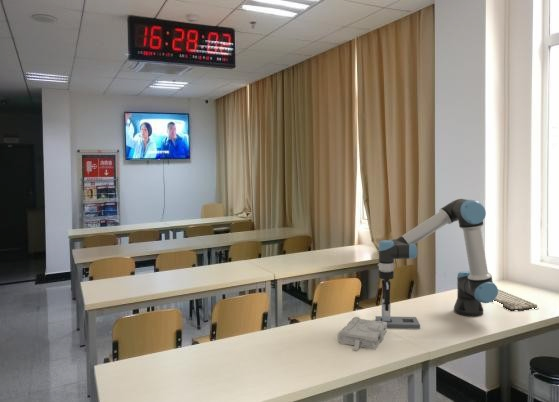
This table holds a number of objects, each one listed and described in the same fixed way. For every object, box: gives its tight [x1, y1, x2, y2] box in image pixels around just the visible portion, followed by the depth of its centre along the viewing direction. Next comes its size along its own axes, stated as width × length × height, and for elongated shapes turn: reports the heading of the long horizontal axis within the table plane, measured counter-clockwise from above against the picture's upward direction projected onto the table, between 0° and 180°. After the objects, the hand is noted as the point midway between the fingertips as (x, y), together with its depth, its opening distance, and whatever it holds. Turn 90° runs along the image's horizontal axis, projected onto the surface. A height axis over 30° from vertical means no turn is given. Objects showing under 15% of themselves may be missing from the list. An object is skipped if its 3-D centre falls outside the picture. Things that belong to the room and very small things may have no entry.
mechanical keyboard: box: [494, 288, 538, 312], centre depth 270 cm, size 38×19×3 cm, turn 10°
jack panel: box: [375, 315, 421, 330], centre depth 233 cm, size 21×12×2 cm, turn 83°
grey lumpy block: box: [336, 316, 388, 351], centre depth 214 cm, size 19×28×8 cm
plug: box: [381, 299, 391, 321], centre depth 233 cm, size 4×4×11 cm
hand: (386, 314), depth 233 cm, fingers closed on plug, 4 cm apart
